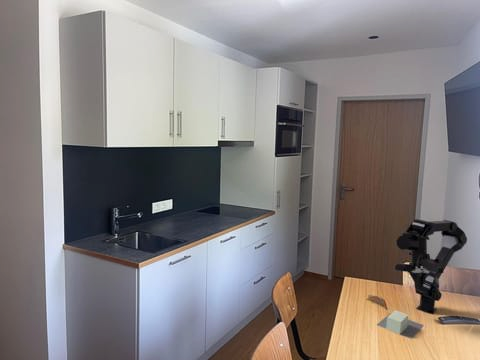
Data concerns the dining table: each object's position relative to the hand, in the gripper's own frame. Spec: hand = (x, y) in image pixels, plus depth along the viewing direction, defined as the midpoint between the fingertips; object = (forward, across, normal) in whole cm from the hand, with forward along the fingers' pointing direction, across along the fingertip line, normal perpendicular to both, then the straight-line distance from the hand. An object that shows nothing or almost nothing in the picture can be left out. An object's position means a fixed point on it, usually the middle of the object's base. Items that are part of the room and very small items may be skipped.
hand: (419, 290), depth 140 cm
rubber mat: (+14, -9, +1) cm, 16 cm away
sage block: (+11, -8, 0) cm, 14 cm away
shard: (+10, -5, +19) cm, 22 cm away
